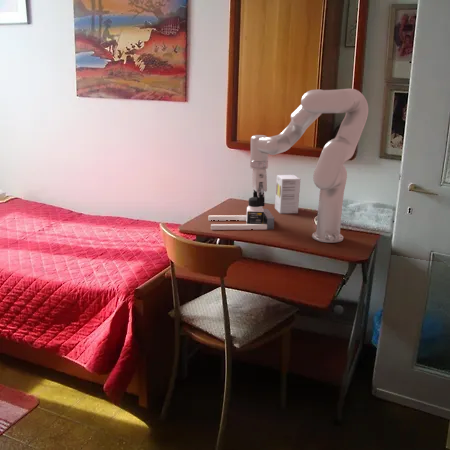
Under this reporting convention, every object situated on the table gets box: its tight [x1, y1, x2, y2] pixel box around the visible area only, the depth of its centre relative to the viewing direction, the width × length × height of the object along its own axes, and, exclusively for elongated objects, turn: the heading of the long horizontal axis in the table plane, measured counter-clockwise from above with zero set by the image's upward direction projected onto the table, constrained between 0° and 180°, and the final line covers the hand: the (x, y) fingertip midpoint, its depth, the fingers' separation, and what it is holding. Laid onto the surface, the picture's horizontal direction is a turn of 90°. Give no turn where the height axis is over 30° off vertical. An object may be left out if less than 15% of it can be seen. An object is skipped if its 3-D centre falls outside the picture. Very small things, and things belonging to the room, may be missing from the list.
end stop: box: [263, 208, 275, 230], centre depth 236 cm, size 15×3×5 cm, turn 6°
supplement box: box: [274, 174, 301, 214], centre depth 257 cm, size 10×9×17 cm
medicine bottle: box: [245, 196, 264, 224], centre depth 234 cm, size 7×7×12 cm
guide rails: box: [207, 214, 268, 231], centre depth 235 cm, size 15×24×2 cm, turn 96°
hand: (258, 203), depth 233 cm, fingers open, 9 cm apart
